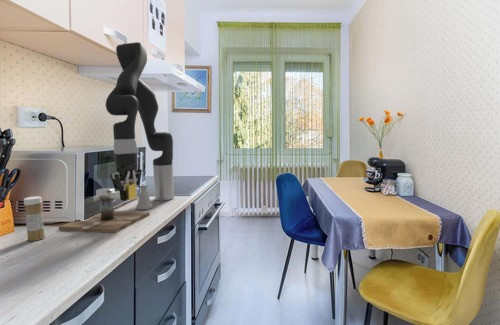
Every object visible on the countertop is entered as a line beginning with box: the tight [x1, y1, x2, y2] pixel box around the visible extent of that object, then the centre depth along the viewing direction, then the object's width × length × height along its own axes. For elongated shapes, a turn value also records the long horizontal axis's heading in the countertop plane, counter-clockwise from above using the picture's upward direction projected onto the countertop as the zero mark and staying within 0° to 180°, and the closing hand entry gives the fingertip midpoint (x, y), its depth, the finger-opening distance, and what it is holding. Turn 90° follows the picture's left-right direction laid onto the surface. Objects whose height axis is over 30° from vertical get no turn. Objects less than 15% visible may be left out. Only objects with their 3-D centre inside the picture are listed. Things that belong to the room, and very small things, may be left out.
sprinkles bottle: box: [23, 196, 45, 242], centre depth 96 cm, size 5×5×13 cm
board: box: [58, 210, 150, 234], centre depth 113 cm, size 23×22×1 cm
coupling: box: [95, 183, 138, 201], centre depth 112 cm, size 15×6×5 cm, turn 73°
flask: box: [135, 185, 154, 211], centre depth 133 cm, size 7×7×10 cm
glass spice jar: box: [99, 198, 115, 220], centre depth 114 cm, size 6×4×8 cm
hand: (128, 198), depth 110 cm, fingers closed on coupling, 4 cm apart
